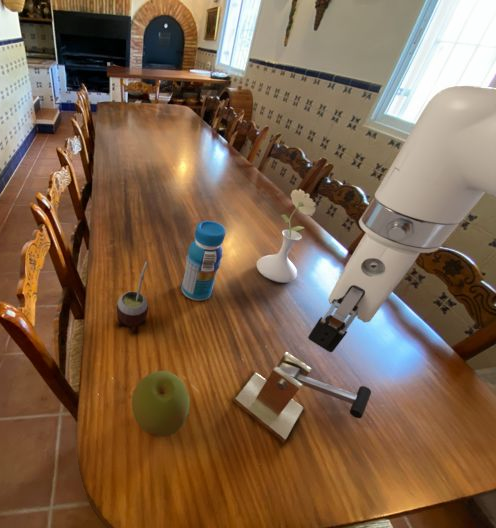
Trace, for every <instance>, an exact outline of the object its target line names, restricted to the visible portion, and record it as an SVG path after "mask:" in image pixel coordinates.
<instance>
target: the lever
mask: <svg viewBox="0 0 496 528" xmlns="http://www.w3.org/2000/svg"><path fill="white" fill-rule="evenodd" d="M279 368H280V369H281V370H282V371H284V372H285V373H287V374H288V375H290V376H291V377H292V378H294V379H295V380H297V381H298V382H300V383H301V384H302V386H304V387H306V388H309V389H312V390H315V391H318V392H320V393H322V394H325V395H328V396H331V397H333V398H335V399H338V400H340V401H343V402H346V403H349V404H351V406H350V409H349V415H351V416H352V417H353V418H355V419H362V418H363V415H364V413H365V410H366V407H367V405H368V402H369V400H370V398H371V395H372V391H371V388H369V387H368V386H365V385H361V386H359V388H358V390H357V392H356V393H353V392H350V391H348V390H344V389H343V388H339V387H336V386H334V385H331V384H328V383H325V382H323V381H320V380H316V379H315V378H312V377H309V376H303V375H300V370H299V368H297V367H294V366H291V365H288V364H285V363H282V364H281V365H280V367H279Z"/></svg>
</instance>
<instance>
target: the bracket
mask: <svg viewBox="0 0 496 528" xmlns="http://www.w3.org/2000/svg"><path fill="white" fill-rule="evenodd" d="M282 363H285V364H288V365H291V366H294V367H297V368H299V370H300V375H303V376H306V377H308V375H309V373H310V372H311V371H312V368H311V367H310V366H308V365H307V364H306V363H304V362H302V361H301V360H299V359H298V358H296V357H295V356H293V355H292V354H291V353H289V352H287V351H285V353H284V354H283V356H282V357H281V359H280V361H279V362H278V364H277V365H275V367H274V368H273V369H272V371H271V373H270V374H269V376H268V377H267V379H266V378H264V377H263V376H262V375H261V374H259V373H257V372H256V371H255V372H254V373H253V375H252V376H251V377H250V379H249V380H248V381H247V383H246V384H245V385H244V386H243V388H241V390H240V392H239V393H238V394H237V396H236V397H235V398H234V400H233V403H235V404H236V405H237V406H239V408H241V409H242V410H243V411H245V412H246V413H247V414H248V415H250V416H251V417H252V418H253V419H254V420H255V421H256V422H258V423H259V424H260V425H261V426H263V427H264V428H265V429H266V430H267V431H269V432H270V433H271V434H272V435H274V436H275V437H276V438H277V439H278V440H279V441H281V442H282V443H285V441H286V440H287V438H288V437H289V435H290V433H291V431H292V430H293V428H294V426H295V424H296V422H297V421H298V419H299V418H300V415H301V413H302V411H303V410H304V407H303V406H302V405H301V404H300V403H298V402H297V401H296V400H294V399H293V398H294V396H295V395H296V394H297V393H298V391H299V390H300V389H301V387H302V386H303V385H302V384H301V383H300V382H298V381H297V380H295V379H294V378H292V377H291V376H290V375H288V374H287V373H285V372H284V371H282V370H281V369H280V368H279V367H280V365H281V364H282Z"/></svg>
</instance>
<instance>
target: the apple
mask: <svg viewBox="0 0 496 528" xmlns="http://www.w3.org/2000/svg"><path fill="white" fill-rule="evenodd" d="M190 404H191V397H190V395H189V392H188V390H187V387H186V385H185V382H184V381H183V380H182V379H181V378H180V377H179V376H177V375H176V374H174V373H172V372H170V371H168V370H157V371H153V372H150V373H148V374H147V375H146V376H144V377H143V378H142V379H141V380H139V382H137V384H136V386H135V388H134V389H133V390H132V397H131V410H132V415H133V417H134V420H135V422H136V423H137V424H138V426H139V427H140V428H141V429H142V430H143V431H144V432H146V433H148V434H150V435H152V436H155V437H168V436H172V435H175V434H177V432H178V431H180V429H182V428H183V427H184V424H185V423H186V420H187V418H188V414H189V412H190V408H191V406H190Z"/></svg>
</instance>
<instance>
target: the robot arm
mask: <svg viewBox="0 0 496 528" xmlns="http://www.w3.org/2000/svg"><path fill="white" fill-rule="evenodd" d="M380 182H381V183H380V184H379V186H378V187H377V189H376V190H375V192H374V194H373V196H372V197H371V199H370V201H369V203H368V205H367V206H366V208H365V210H364V212H363V213H362V215H361V216H360V218H359V220H358V224H359V227H360V228H361V230H362V231H364V234H363V236H362V238H361V239H360V241H359V242H358V243H357V244H358V245H357V246H356V248H355V249H354V251H353V252H352V254H351V256H350V258H349V259H348V261H347V262H346V265H345V266H344V268H343V269H342V271H341V273H340V276H339V277H338V279H337V280H336V282H335V285H334V287H333V289H332V290H331V292H330V294H329V297H328V299H327V301H328V303H329V304H330V306H329V308H328V309H327V310H326V312H325V314H324V315H323V316H320V318H319V319H318V321H316V324H315V325H314V327H313V328H312V330H311V331H310V333H309V335H308V336H307V338H308V340H309V341H310V342H312V343H314V344H316V345H317V346H319V347H320V348H322V349H324V350H325V351H327V352H328V353H333V352H334V351H335V350H336V348H337V347H338V346H339V344H340V343H341V341H342V340H343V339H344V338H345V336H346V335H347V333H348V331H347V330H348V329H349V327H350V325H351V324H353V321H354V320H355V319H356V317H357V320H359V321H362V322H363V323H369V322H371V321H372V319H373V318H374V316H375V315H376V314H377V313H378V312H379V310H380V308H381V307H382V306H383V305H384V304H385V302H386V301H387V299H388V298H389V297H390V295H391V294H392V293H393V292H394V290H395V289H396V287H397V286H398V285H399V284H400V283H401V281H402V280H403V278H404V277H405V276H406V274H407V273H408V272H409V270H410V269H411V268H412V266H413V265H414V263H415V262H416V261H417V259H418V257H419V256H420V254H430V253H434V252H436V251H438V250H439V249H441V247H442V245H443V244H445V242H446V241H447V239H448V238H449V237H450V236H451V234H452V233H453V232H455V230H456V228H457V227H459V225H460V224H461V223H462V221H463V220H464V219H465V218H466V216H467V215H468V214H469V213H470V212H471V210H472V209H473V208H474V207H475V206H476V205H477V203H478V202H479V201H480V200H481V198H482V197H483V196H484V195H485V194H488V195H490V196H493V197H495V198H496V87H490V86H480V85H479V86H478V85H454V86H450V87H445V88H443V89H441V90H440V91H438V92H437V93H436V94H435V95H434V96H433V97H432V98H431V99H430V100H429V101H427V104H426V106H424V109H423V110H422V112H421V114H420V115H419V117H418V119H417V120H416V121H415V124H414V126H413V127H412V129H411V131H410V132H409V134H408V135H407V137H406V139H405V141H404V142H403V144H402V146H401V148H400V149H399V152H398V153H397V155H396V157H395V158H394V160H393V162H392V163H391V166H390V167H389V169H388V170H387V172H386V173H385V176H384V177H383V179H382V181H380ZM335 309H336V310H335Z"/></svg>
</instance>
